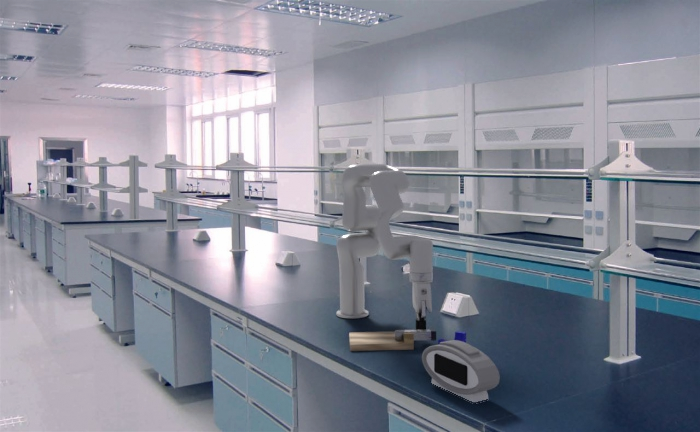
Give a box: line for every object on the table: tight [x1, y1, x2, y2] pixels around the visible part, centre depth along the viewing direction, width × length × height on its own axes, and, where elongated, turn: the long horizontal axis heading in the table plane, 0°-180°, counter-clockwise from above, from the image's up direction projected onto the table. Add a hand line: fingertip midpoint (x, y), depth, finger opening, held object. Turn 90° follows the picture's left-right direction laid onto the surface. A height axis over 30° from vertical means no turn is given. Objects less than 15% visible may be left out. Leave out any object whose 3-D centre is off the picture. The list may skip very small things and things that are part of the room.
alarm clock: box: [421, 339, 501, 402], centre depth 157 cm, size 23×6×13 cm, turn 31°
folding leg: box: [394, 328, 437, 342], centre depth 197 cm, size 13×3×3 cm, turn 90°
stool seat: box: [348, 331, 415, 352], centre depth 201 cm, size 14×20×5 cm
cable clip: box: [437, 330, 467, 345], centre depth 188 cm, size 12×4×6 cm, turn 142°
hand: (420, 331), depth 203 cm, fingers closed
